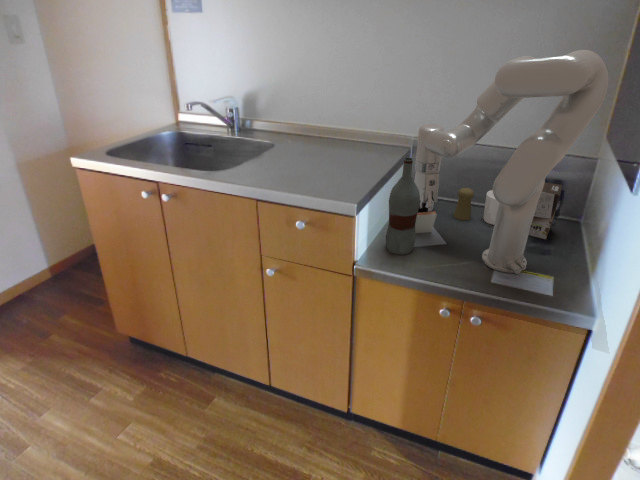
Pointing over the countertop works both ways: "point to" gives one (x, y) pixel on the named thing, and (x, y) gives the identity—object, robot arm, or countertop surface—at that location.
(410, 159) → the bottle
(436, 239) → the mat
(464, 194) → the cork
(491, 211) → the white cup
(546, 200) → the coffee box
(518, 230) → the robot arm
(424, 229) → the tile
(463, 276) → the countertop surface
